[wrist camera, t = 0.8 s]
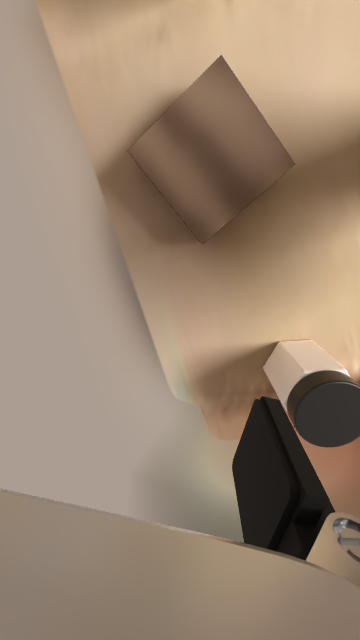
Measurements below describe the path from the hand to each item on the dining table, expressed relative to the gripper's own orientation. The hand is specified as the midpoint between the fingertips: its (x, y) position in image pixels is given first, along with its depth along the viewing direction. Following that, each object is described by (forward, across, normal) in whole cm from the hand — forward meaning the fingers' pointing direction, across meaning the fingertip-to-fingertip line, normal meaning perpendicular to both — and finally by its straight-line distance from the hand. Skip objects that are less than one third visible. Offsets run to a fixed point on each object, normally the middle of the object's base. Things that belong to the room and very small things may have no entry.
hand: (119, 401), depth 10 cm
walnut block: (+30, -1, -13) cm, 33 cm away
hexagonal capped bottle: (+30, -20, +9) cm, 37 cm away
